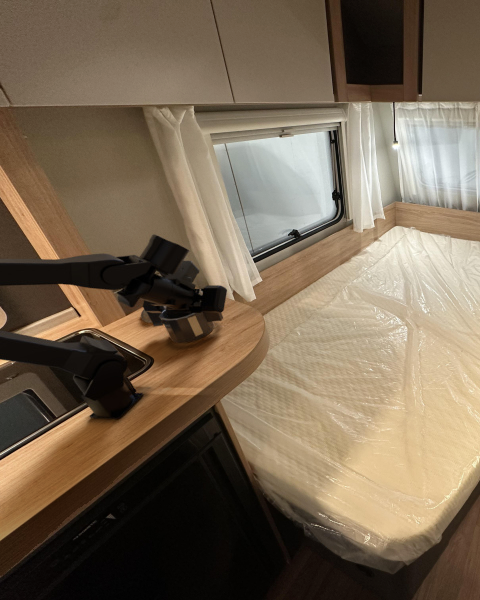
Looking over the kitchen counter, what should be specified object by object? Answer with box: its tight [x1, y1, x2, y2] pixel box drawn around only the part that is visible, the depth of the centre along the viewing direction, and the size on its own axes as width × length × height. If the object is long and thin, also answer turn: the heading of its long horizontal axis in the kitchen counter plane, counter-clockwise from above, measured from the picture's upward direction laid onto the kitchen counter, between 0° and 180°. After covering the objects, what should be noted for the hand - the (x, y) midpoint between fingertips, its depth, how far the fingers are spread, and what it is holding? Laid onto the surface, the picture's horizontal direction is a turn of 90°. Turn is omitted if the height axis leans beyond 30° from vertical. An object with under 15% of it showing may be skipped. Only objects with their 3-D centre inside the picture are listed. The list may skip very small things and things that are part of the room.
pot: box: [146, 306, 224, 344], centre depth 84 cm, size 11×18×9 cm, turn 94°
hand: (209, 307), depth 82 cm, fingers closed, pressing on pot
